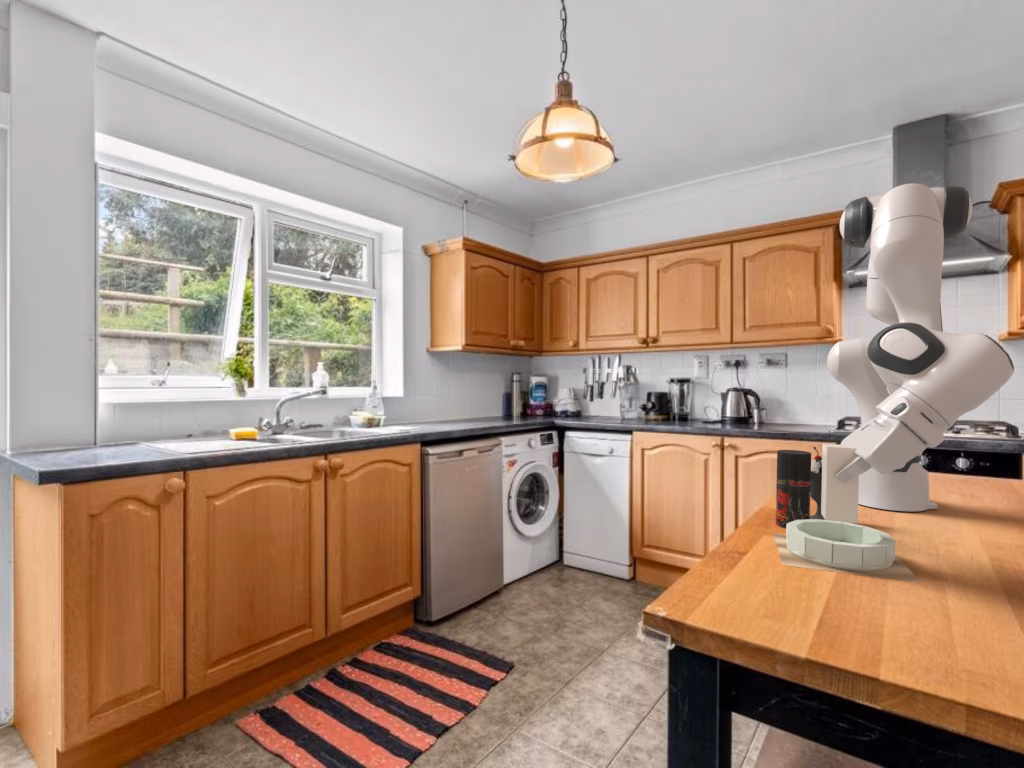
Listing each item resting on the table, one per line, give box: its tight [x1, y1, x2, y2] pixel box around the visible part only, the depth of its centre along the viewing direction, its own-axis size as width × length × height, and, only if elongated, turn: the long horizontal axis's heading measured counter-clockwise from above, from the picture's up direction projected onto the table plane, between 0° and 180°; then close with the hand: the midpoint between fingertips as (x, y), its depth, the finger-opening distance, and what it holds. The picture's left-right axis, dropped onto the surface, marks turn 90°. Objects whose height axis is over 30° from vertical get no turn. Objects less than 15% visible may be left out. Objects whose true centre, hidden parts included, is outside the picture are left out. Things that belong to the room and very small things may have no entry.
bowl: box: [785, 519, 896, 571], centre depth 89 cm, size 15×15×4 cm
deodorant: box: [775, 449, 812, 530], centre depth 106 cm, size 6×6×15 cm
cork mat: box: [772, 532, 922, 584], centre depth 89 cm, size 18×18×1 cm
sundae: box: [810, 446, 825, 520], centre depth 112 cm, size 7×7×15 cm
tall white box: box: [821, 443, 859, 524], centre depth 89 cm, size 4×4×12 cm
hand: (835, 476), depth 89 cm, fingers closed on tall white box, 4 cm apart
